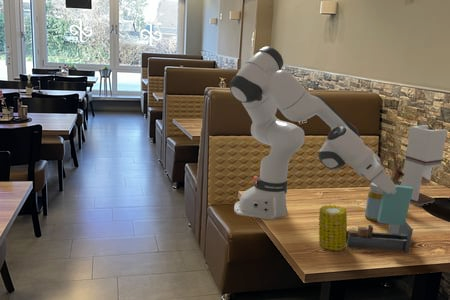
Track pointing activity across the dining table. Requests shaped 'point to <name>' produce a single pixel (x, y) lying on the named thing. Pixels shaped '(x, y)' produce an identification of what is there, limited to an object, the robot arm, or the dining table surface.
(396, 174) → the ceramic vessel
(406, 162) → the white model tower
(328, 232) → the food
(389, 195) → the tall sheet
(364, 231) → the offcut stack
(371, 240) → the rack
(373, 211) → the bottle
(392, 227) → the tea bag
